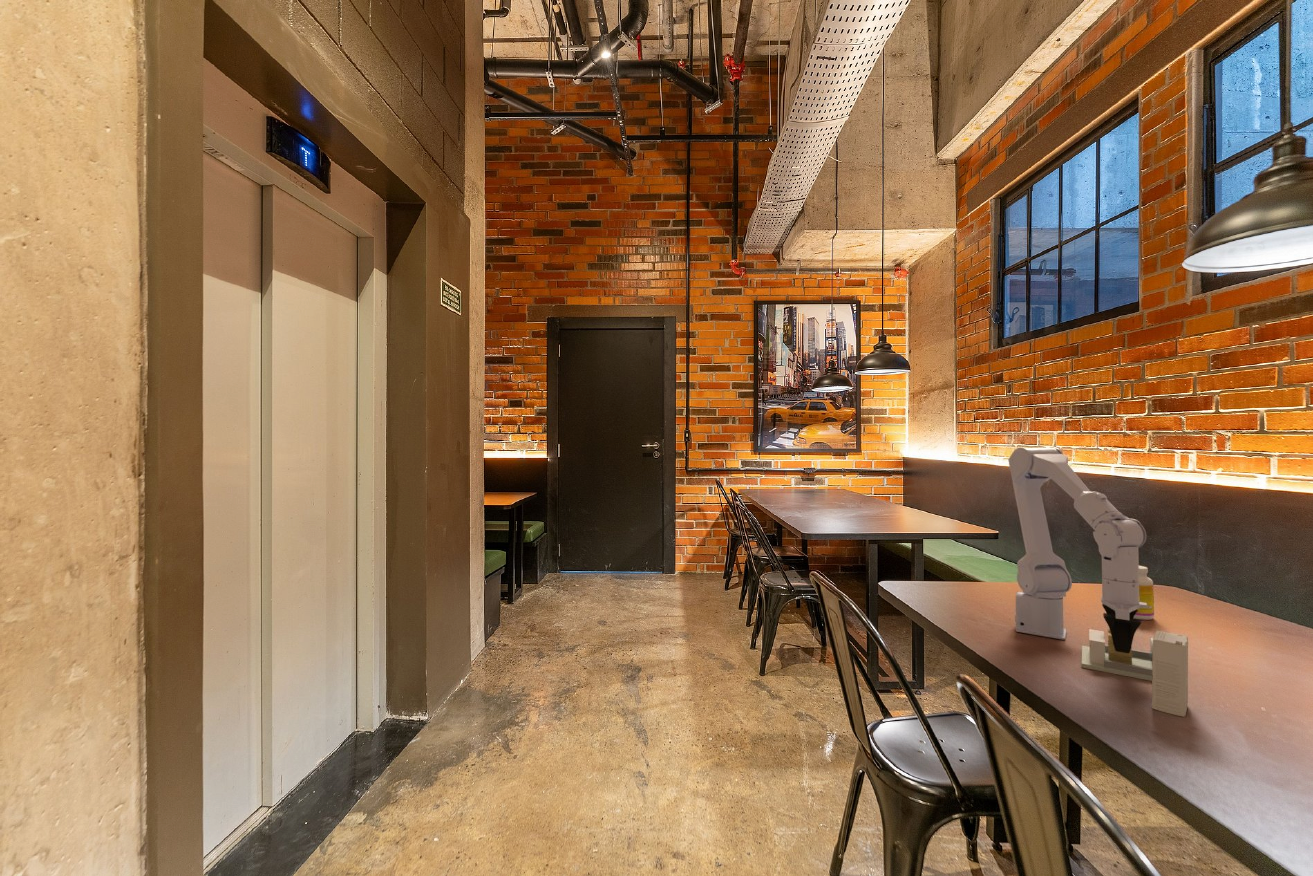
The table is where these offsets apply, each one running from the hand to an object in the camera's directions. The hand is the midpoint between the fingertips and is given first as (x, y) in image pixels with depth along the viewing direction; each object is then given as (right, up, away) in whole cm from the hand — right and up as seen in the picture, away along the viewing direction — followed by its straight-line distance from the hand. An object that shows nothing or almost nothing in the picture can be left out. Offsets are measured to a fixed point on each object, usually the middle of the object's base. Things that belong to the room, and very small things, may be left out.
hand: (1121, 646), depth 110 cm
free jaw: (+5, -3, -4) cm, 7 cm away
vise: (0, -4, 0) cm, 4 cm away
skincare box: (-7, -4, -18) cm, 19 cm away
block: (0, -3, 0) cm, 3 cm away
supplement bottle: (+30, -4, +30) cm, 42 cm away
